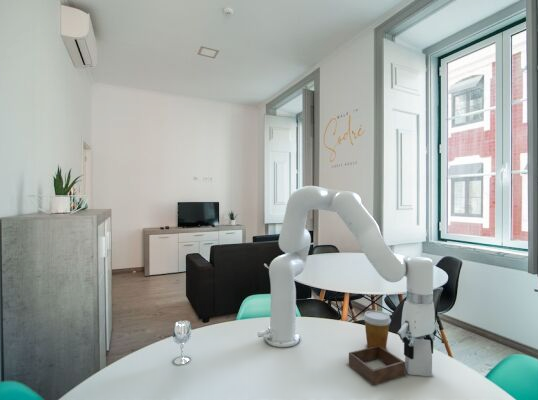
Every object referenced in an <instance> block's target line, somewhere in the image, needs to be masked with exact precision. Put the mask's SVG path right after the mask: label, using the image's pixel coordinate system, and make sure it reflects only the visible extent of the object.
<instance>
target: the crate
mask: <svg viewBox="0 0 538 400" xmlns="http://www.w3.org/2000/svg"><path fill="white" fill-rule="evenodd" d="M375 360H380V361H381V362H382V363H384V364H385V365H384V366H380V367H377V368H372V367H371V366H369V365H368V364H367V362H371V361H375ZM348 367H350V368H352V369H353V371H355V372H356V373H357V374H359V375H360V376H361V377H362V378H364V379H365V380H366V381H367V382H369V383H370V384H371V385H372V386H375V385H378V384H382V383H385V382H387V381H391V380H394V379H399V378H401V377H404V376H406V368H405V360H403V359H401V358H400V357H398V356H397V355H394V353H392V352H390V351H388V350H387V349H386V350H385V349H384V348H382V347H380V346H374V347H370V348H368V347H366V348H362V349H359V350H353V351H350V352H348Z"/></svg>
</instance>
